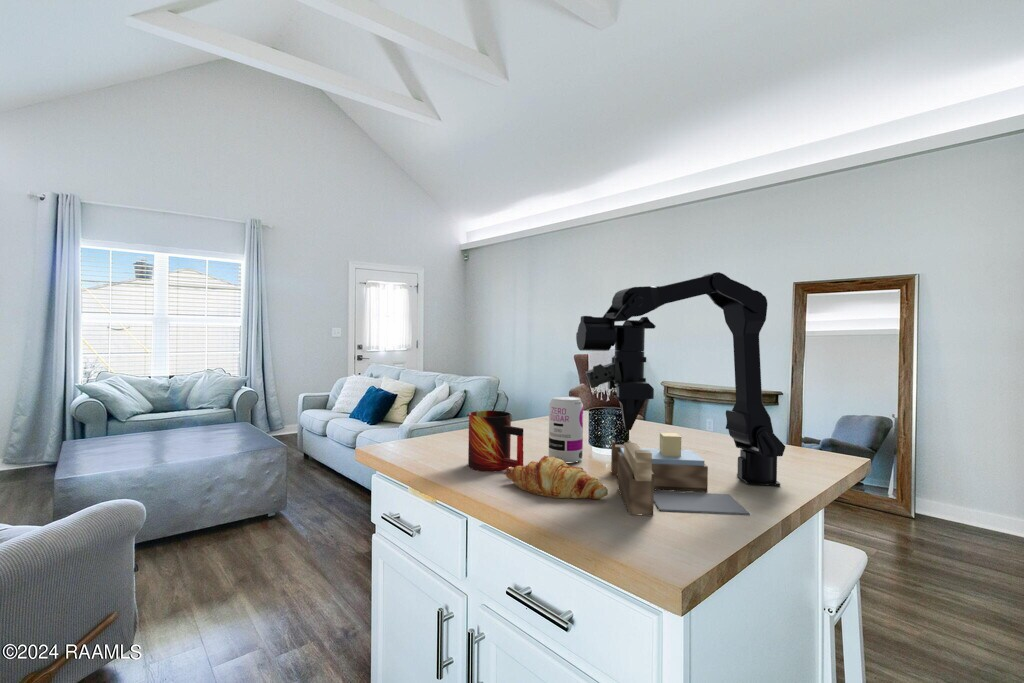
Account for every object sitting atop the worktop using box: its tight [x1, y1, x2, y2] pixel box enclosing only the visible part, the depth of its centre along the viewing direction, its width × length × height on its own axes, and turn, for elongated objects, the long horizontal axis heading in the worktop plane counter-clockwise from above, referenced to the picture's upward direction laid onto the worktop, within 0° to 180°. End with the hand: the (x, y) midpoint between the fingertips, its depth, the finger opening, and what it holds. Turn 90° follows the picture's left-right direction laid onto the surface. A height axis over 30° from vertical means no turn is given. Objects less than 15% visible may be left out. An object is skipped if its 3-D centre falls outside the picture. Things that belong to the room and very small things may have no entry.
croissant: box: [505, 455, 609, 500], centre depth 93 cm, size 21×10×8 cm, turn 63°
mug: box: [467, 410, 524, 473], centre depth 110 cm, size 10×14×12 cm
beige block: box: [623, 442, 652, 481], centre depth 86 cm, size 2×15×5 cm, turn 175°
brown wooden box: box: [610, 439, 709, 516], centre depth 93 cm, size 17×26×7 cm, turn 175°
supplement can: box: [548, 395, 584, 462], centre depth 116 cm, size 8×8×15 cm
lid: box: [620, 432, 705, 466], centre depth 99 cm, size 15×9×5 cm, turn 85°
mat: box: [654, 490, 751, 516], centre depth 87 cm, size 15×10×1 cm, turn 85°
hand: (627, 429), depth 96 cm, fingers closed
